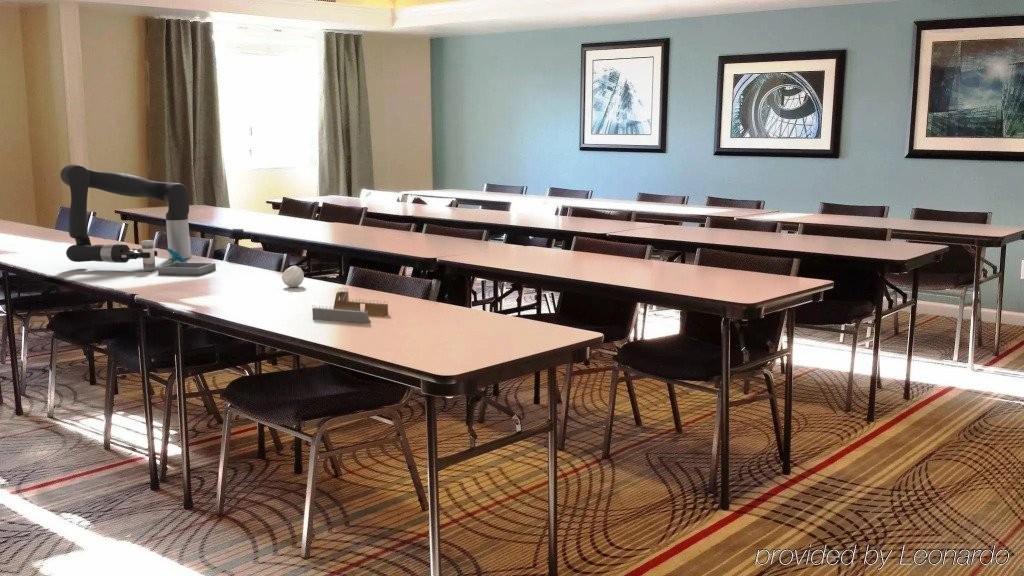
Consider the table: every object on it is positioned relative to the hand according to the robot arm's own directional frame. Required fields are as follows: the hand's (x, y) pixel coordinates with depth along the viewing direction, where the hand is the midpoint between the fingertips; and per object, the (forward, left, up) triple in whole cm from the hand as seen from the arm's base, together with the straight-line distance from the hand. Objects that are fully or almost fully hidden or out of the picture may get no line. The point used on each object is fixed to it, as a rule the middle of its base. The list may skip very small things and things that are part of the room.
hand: (153, 254), depth 382 cm
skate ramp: (+67, +112, -8) cm, 131 cm away
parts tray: (+2, +16, -7) cm, 17 cm away
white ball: (+26, +72, -7) cm, 77 cm away
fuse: (0, -2, -6) cm, 7 cm away
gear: (-16, +1, -7) cm, 17 cm away
